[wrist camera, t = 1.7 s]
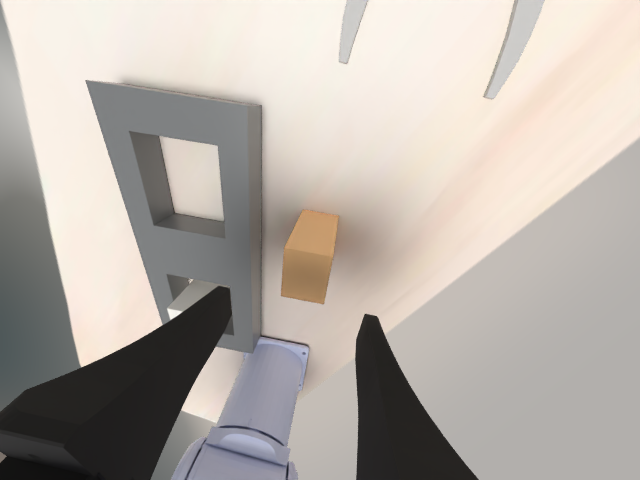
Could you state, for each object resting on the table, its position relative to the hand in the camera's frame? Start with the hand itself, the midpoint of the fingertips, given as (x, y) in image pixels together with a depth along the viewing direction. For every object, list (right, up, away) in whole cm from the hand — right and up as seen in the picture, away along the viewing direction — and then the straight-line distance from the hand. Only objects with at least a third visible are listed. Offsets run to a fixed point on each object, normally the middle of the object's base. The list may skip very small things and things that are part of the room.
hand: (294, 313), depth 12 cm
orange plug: (+1, +5, +8) cm, 9 cm away
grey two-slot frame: (-9, +4, +10) cm, 14 cm away
